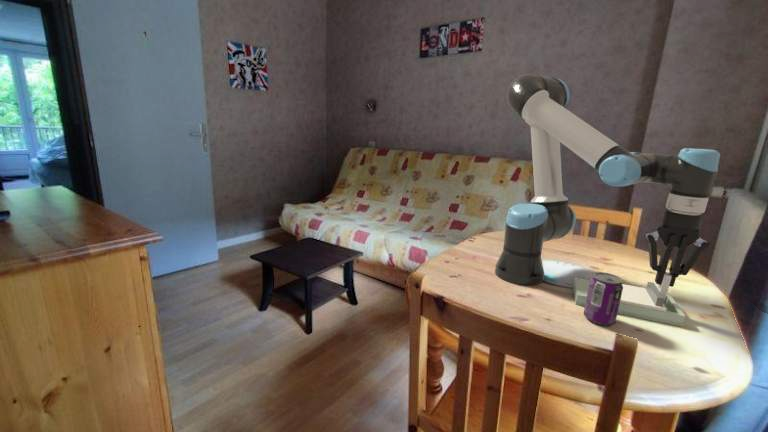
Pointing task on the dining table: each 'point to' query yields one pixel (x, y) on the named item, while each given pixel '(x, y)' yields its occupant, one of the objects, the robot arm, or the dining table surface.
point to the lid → (643, 297)
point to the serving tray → (669, 317)
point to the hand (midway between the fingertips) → (660, 295)
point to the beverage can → (603, 298)
